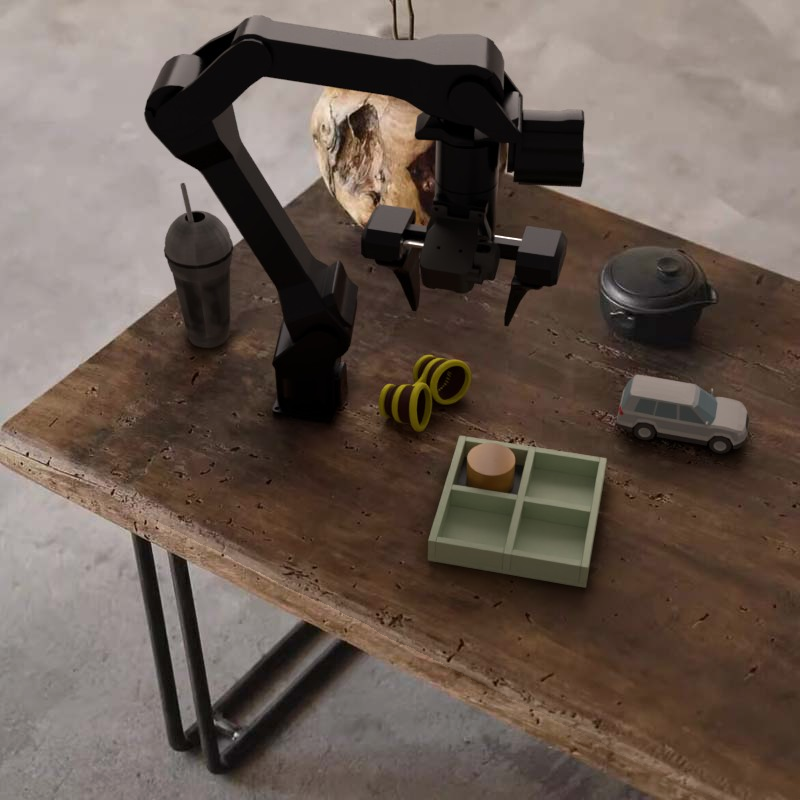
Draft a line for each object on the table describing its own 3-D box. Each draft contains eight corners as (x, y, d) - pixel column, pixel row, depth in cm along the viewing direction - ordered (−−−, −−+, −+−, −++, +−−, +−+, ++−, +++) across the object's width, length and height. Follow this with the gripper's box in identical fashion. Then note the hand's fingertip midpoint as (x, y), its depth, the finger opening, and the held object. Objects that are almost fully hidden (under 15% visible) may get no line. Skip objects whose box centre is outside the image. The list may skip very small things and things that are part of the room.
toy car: (742, 460, 130) (751, 422, 127) (613, 437, 133) (618, 399, 130) (747, 423, 135) (755, 385, 131) (622, 401, 137) (627, 364, 134)
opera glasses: (436, 381, 141) (429, 341, 138) (475, 393, 138) (469, 353, 135) (378, 428, 135) (370, 388, 133) (417, 442, 132) (410, 401, 130)
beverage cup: (255, 329, 147) (241, 172, 134) (214, 363, 142) (195, 205, 129) (204, 308, 150) (185, 153, 137) (162, 341, 145) (138, 184, 132)
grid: (427, 560, 120) (427, 540, 119) (458, 455, 131) (459, 435, 129) (585, 588, 118) (588, 567, 116) (604, 478, 129) (607, 458, 127)
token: (461, 494, 126) (462, 471, 124) (471, 461, 129) (472, 439, 127) (509, 501, 125) (511, 479, 123) (517, 469, 129) (519, 446, 127)
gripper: (341, 210, 115) (345, 350, 125) (553, 241, 111) (540, 383, 121) (376, 147, 123) (377, 284, 133) (574, 175, 119) (560, 313, 130)
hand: (460, 316), depth 129 cm, fingers open, 9 cm apart
